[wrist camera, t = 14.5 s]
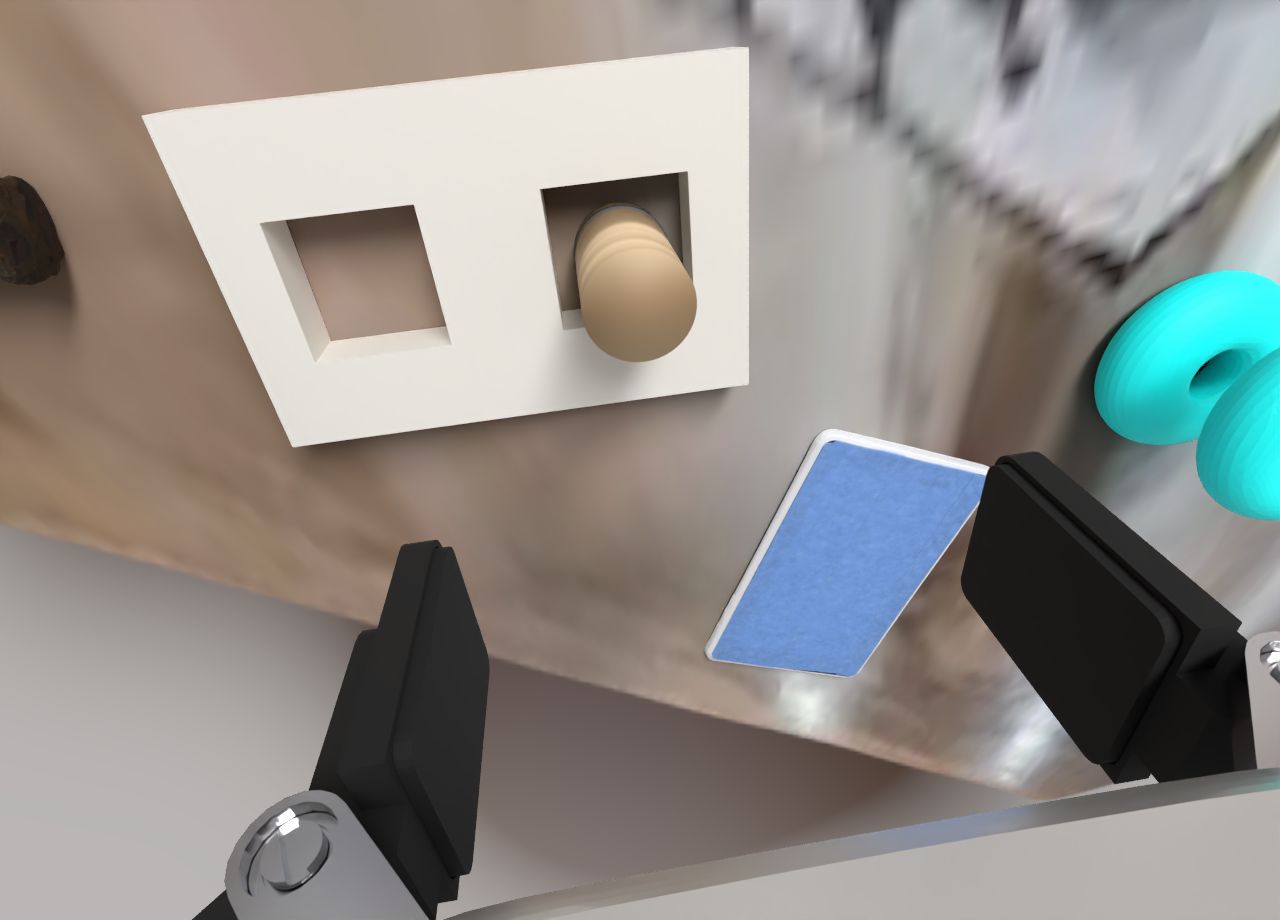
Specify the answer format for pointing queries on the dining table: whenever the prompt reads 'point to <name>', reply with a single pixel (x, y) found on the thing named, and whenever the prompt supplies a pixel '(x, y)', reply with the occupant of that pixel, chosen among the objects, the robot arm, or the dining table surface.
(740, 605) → the tablet computer
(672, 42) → the dining table surface
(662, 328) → the oak peg
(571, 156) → the hole board
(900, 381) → the dining table surface
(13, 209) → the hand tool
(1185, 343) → the donuts
